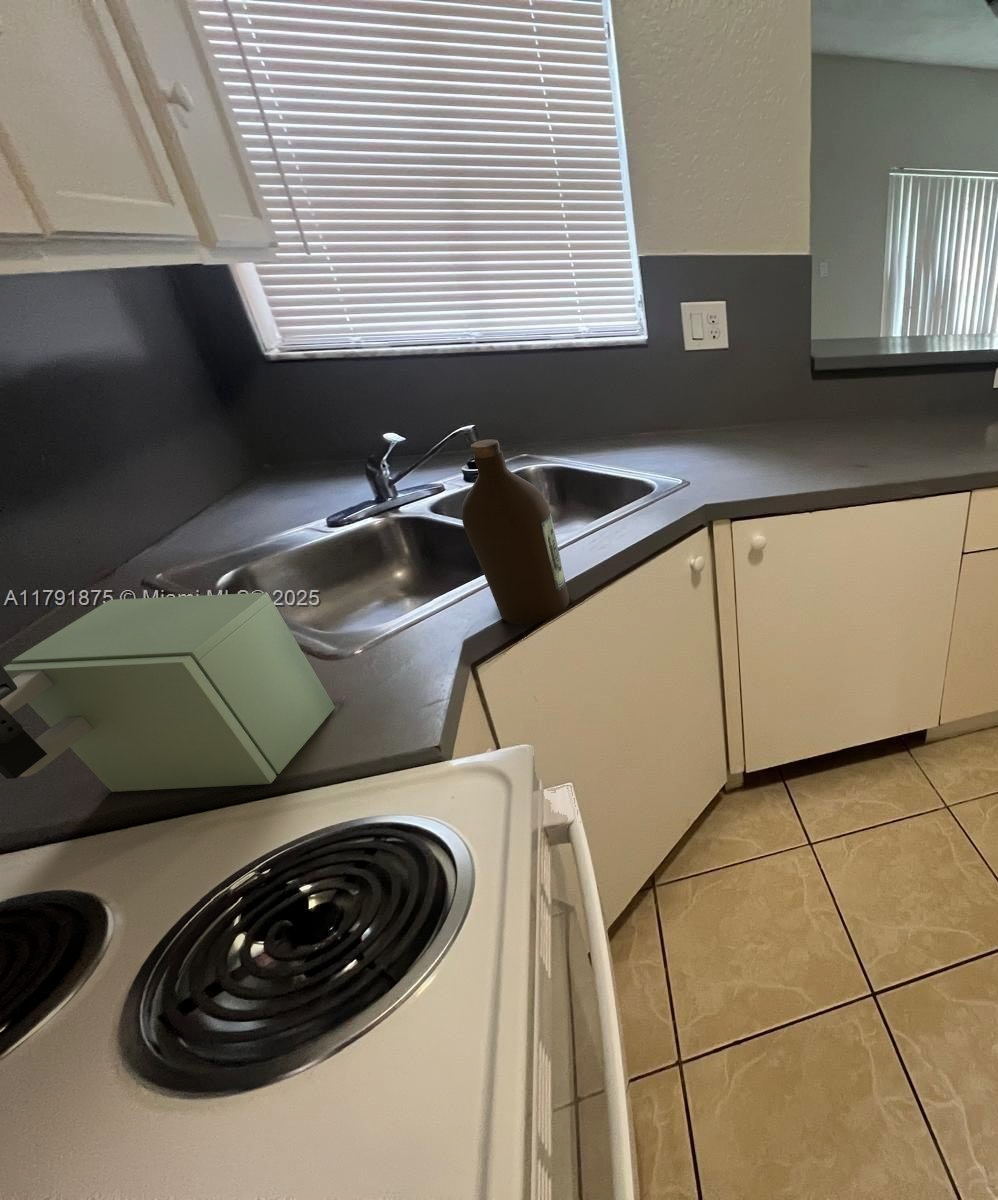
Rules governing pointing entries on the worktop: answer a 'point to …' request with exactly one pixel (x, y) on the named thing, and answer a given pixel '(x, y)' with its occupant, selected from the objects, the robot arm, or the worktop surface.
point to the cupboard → (211, 658)
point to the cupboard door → (138, 723)
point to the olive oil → (513, 540)
